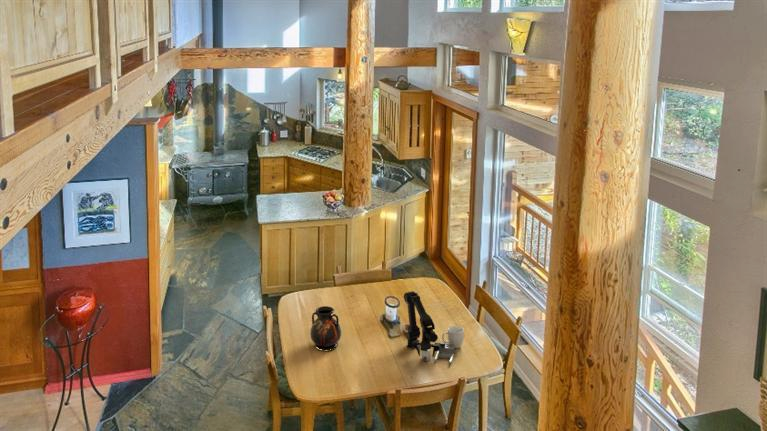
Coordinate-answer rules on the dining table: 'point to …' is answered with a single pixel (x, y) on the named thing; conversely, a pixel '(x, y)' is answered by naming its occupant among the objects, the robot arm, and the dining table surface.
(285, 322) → the dining table surface
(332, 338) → the amphora vase
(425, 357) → the light bulb
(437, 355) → the u-shaped channel
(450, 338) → the mug
